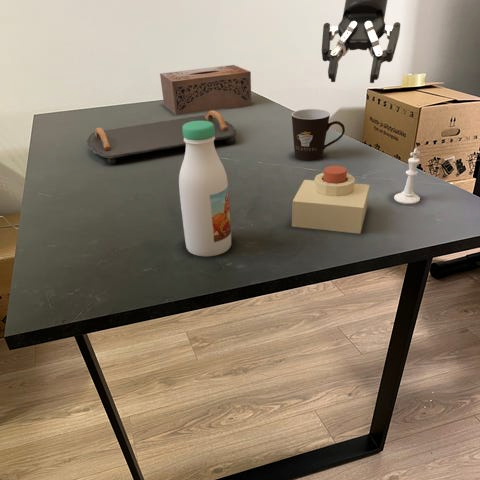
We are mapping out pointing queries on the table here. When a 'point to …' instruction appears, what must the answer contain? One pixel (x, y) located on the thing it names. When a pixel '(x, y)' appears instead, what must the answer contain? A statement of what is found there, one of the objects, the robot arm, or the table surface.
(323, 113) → the coffee mug
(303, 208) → the button base
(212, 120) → the serving tray
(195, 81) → the tissue box cover
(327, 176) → the lid button
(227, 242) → the milk bottle
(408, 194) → the chess piece
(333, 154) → the table surface
